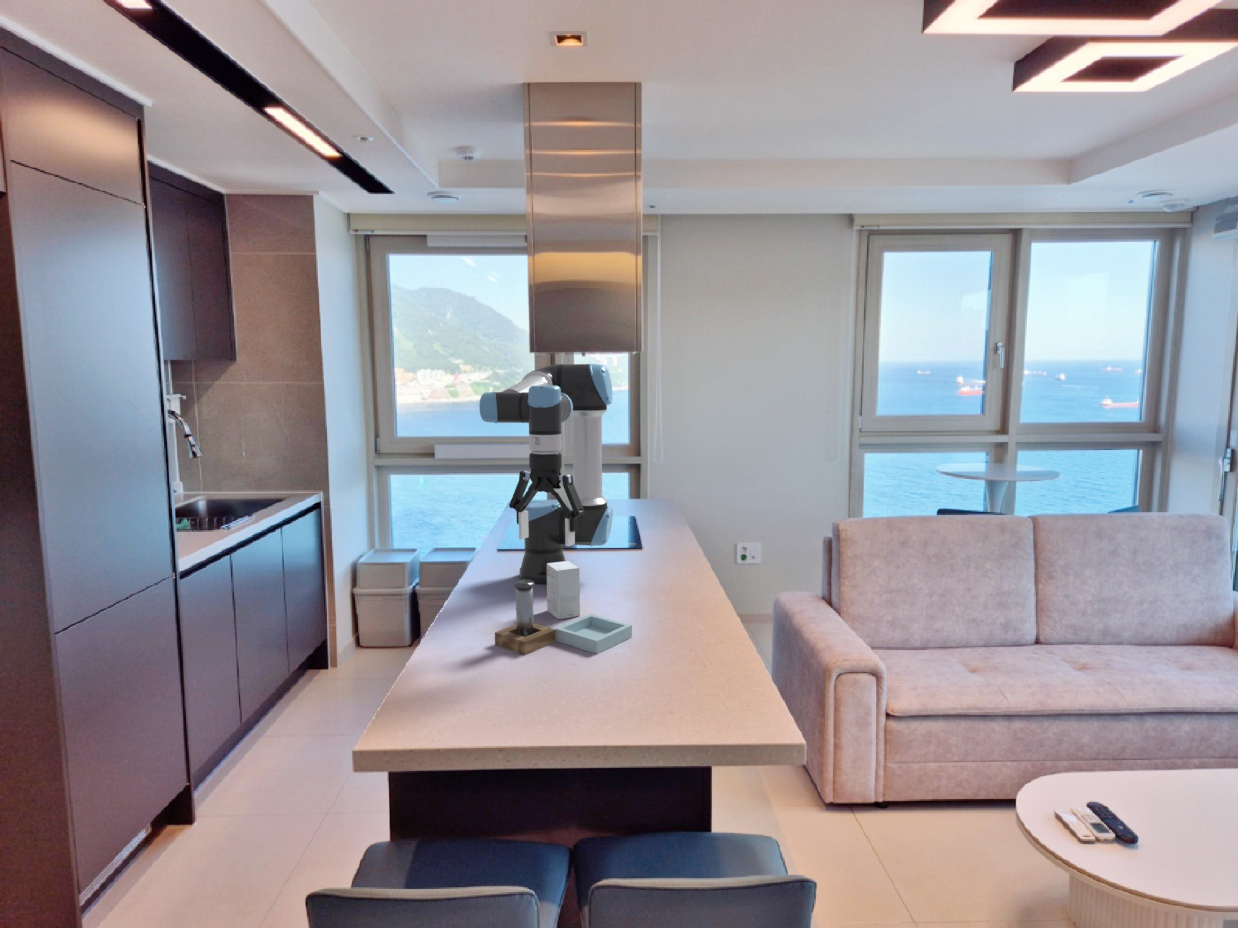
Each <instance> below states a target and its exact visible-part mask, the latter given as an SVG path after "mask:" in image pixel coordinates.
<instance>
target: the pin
mask: <svg viewBox="0 0 1238 928" xmlns="http://www.w3.org/2000/svg"><path fill="white" fill-rule="evenodd" d="M535 584H536V583H535V582H534V581H533V580H526V579H525V580H521V579H518V580H515V581H514V582H513V587H514V588H515V615H516V616H515V618H516V627H517V635H520V636H523V637H527V636H529V635H532V634H534V622H535V621H534V587H535V586H536V585H535Z"/></svg>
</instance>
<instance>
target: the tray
mask: <svg viewBox="0 0 1238 928" xmlns="http://www.w3.org/2000/svg"><path fill="white" fill-rule="evenodd" d="M554 629H555V642H557V643H558V642H559V643H561V644H565V645H569V646H571V647H574V648H577V649H581V650H584V651H587V652H590V653H593V654H597V655H598V654H599V653H602V652H604V651H606V650H609V649H610V648H612V647H615V646H616V645H618V644H620V643H623V642H625V641H626V640H629V639H631V638H633V624H630V623H625V622H621V621H619V620H614V619H610V618H607V617H603V616H599V615H596V614H592V613H590V614H587V615H584V616H583V617H580V618H577V619H575V620H572V621H570V622H568V623H566V624H563V625H560V626H558V627H556V628H554Z"/></svg>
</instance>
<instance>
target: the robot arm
mask: <svg viewBox="0 0 1238 928" xmlns="http://www.w3.org/2000/svg"><path fill="white" fill-rule="evenodd" d="M612 385H613V384H612V379H611V375H610V373H609V369H608V368H607V367H606V366H605V365H603V364H596V363H579V364H577V363H575V364H574V363H571V364H564V363H562V364H561V363H557V364H549V365H546V366H542V367H539V368H537V369H535V370H532V371H530V372H528V373H527V374H525V375H524V376H523V378H522V379H521V380H520V381H519V382H517V383H515V384H514V385H511V386H510V387H508V388H506V389H504V390H502V391H490V392H487V391H486V392H484V393H482V394H481V396H480V400H479V405H478V407H479V415H480V418H481V420H482V421H483V422H484V423H494V424H499V423H500V424H504V423H505V424H513V423H514V424H515V423H516V424H517V423H519V424H521V423H522V424H528V450H529V451H530V453H529V456H528V457H529V458H528V459H529V460H528V462H529V464H528V465H529V469H530V470H529V469H526V470H522V471H521V470H520V471H519V474H518V482H517V484H516V486H515V488H514V492H513V494H512V496H511V499H510V502H509V508H510V509H513V510H515V512H516V524H517V525H518V539H519V540H524V555H523V557H522V561H521V567H520V568H519V571H518V572H519V575H518V576H519V580H525V579H526V580H533V581H534V582H535V584H539V585H541V584H546V585H547V563H555V562H563V561H567V560H566V556H565V555H564V554H565V553H564V545H565V547H571V546H590V547H593V546H597V547H599V546H604V545H606V544H607V543H608V541H609V539H610V534H611V530H612V523H613V517H614V515H613V514H614V510H613V507H610V506H608V500H607V499H606V498H605V497H604V496H603V440H602V439H603V431H602V430H603V428H602V426H603V424H602V422H603V419H602V417H603V415H604V414H605V413H606V412H607V411H608V408H607V407H608V406H609V405H611V404H612V403H613V387H612ZM571 416H572V461H573V462H572V469H573V470H572V471H573V473H568V474H563V475H562V471H561V469H562V466H563V465H562V463H563V461H562V460H563V457H562V456H563V455H562V453H561V452H560V451H562V449H563V448H562V447H563V445H562V443H563V442H562V423H564V422H566V420H568V419H569V418H570V417H571ZM530 480H531V483H530V485H529V486H528V484H529V482H530ZM527 487H528V488H527ZM539 492H541V493H543V492H544V493H547V494H549V493H551V495H552V496H554V498H555V499H550V500H544V501H538V502H534V503H532V500H533V499H534V497H536V495H537V493H539ZM530 503H531V504H530Z"/></svg>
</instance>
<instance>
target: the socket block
mask: <svg viewBox="0 0 1238 928" xmlns="http://www.w3.org/2000/svg"><path fill="white" fill-rule="evenodd" d="M553 643H556V641H555V628H552V627H548V626H546V625H545V626H544V625H541V624H538V623H534V634H532V635H529V636H527V637H523V636H520V635H517V627H516V624H513V625H511V626H507V627H505V628H503V629H500V630H498V631H495V632H494V645H495V646H499V647H501V648H503V649H507V650H509V651H513V652H516V653H519V654H523V655H524V656H525V655H526V656H527V655H528V654H530V653H533V652H535V651H537V650H540V649H543V648H545V647H547V646H549V645H551V644H553Z"/></svg>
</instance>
